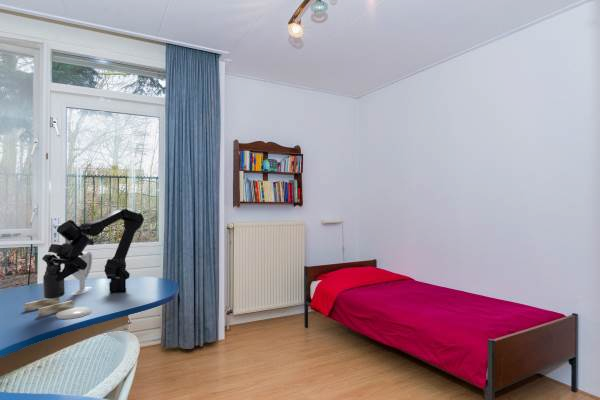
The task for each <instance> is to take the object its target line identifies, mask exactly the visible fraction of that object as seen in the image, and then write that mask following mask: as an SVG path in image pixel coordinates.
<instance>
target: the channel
mask: <svg viewBox="0 0 600 400" xmlns="http://www.w3.org/2000/svg"><path fill="white" fill-rule="evenodd" d="M70 308H74V300H71V299H70V300H66V301H63V302H60V297H59V298H53V299H46V298H43V299H39V300H34V301H30V302H26V303H24V312H30V311H35V310H37V316H38V317H40V318H41V317H45V316H48V315H51V314H55V313H56V314H57V313H58V312H60V311H63V310H66V309H70Z"/></svg>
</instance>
